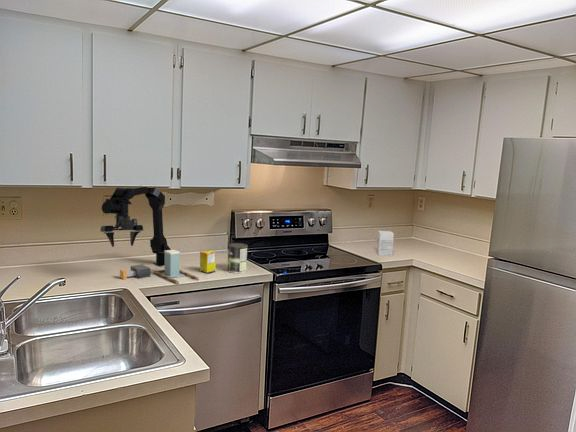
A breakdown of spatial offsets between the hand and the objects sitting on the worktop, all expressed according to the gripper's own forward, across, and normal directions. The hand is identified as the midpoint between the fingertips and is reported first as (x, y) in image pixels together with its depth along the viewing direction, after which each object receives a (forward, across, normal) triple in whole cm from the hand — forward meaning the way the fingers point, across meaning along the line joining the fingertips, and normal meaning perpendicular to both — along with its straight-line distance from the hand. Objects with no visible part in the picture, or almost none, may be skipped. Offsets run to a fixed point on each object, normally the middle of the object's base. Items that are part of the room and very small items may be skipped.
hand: (122, 246), depth 222 cm
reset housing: (+15, +10, +3) cm, 19 cm away
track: (+16, +24, -8) cm, 30 cm away
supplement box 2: (+12, +159, -37) cm, 164 cm away
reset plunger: (+15, +4, +3) cm, 16 cm away
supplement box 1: (+15, +42, -9) cm, 45 cm away
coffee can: (+16, +56, -16) cm, 60 cm away
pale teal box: (+15, +24, -4) cm, 28 cm away
